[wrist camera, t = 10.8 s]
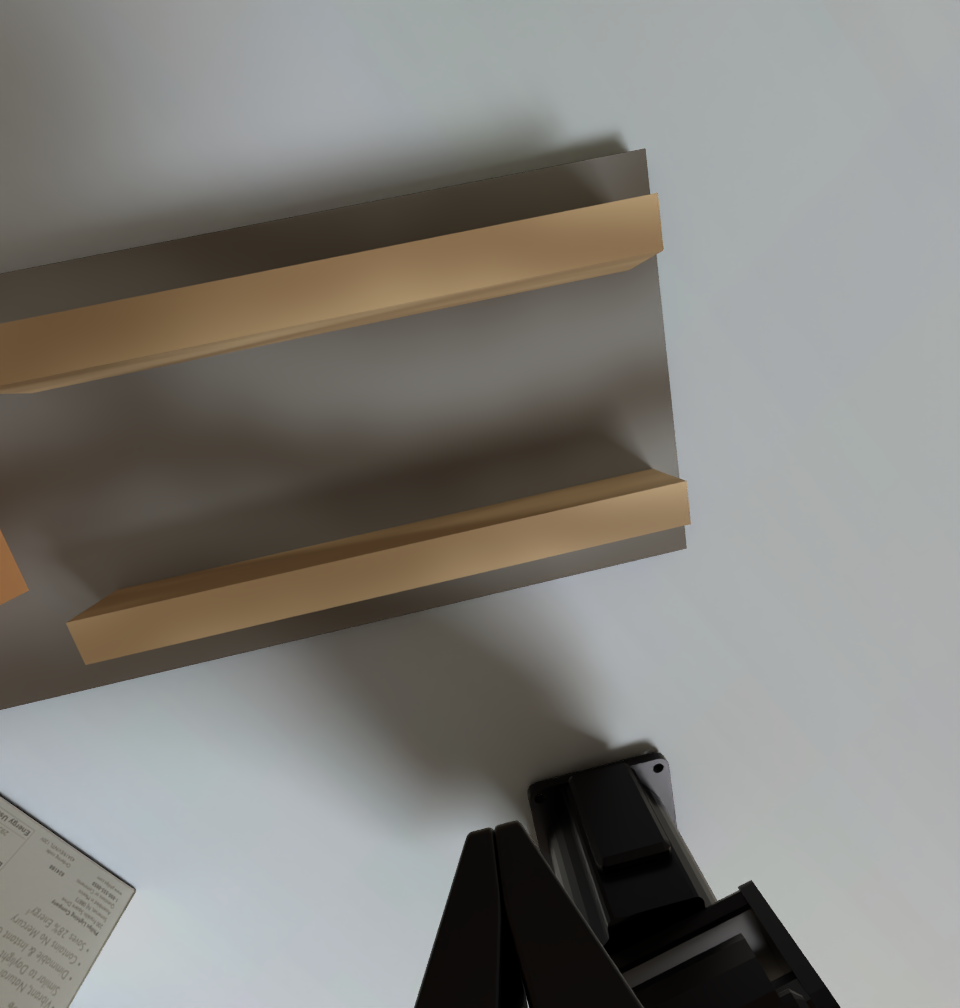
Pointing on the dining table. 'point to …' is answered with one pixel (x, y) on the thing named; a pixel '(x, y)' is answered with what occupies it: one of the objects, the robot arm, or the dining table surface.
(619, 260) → the chute
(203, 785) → the dining table surface
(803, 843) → the dining table surface
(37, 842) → the light bulb box
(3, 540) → the orange block
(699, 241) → the dining table surface
